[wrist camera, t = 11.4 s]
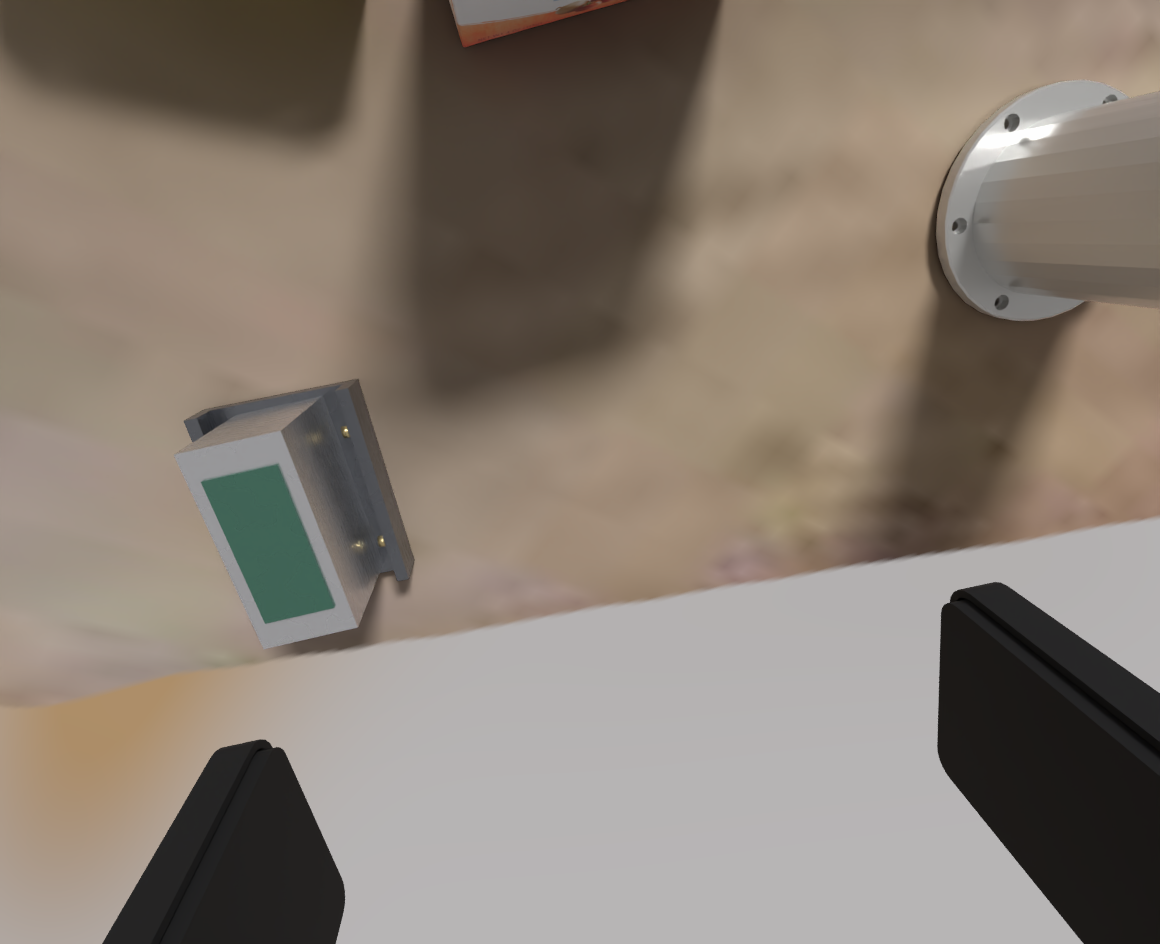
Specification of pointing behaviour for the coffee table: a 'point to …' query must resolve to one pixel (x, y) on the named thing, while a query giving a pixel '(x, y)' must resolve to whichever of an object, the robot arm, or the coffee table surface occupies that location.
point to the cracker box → (513, 15)
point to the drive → (285, 520)
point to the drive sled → (359, 454)
